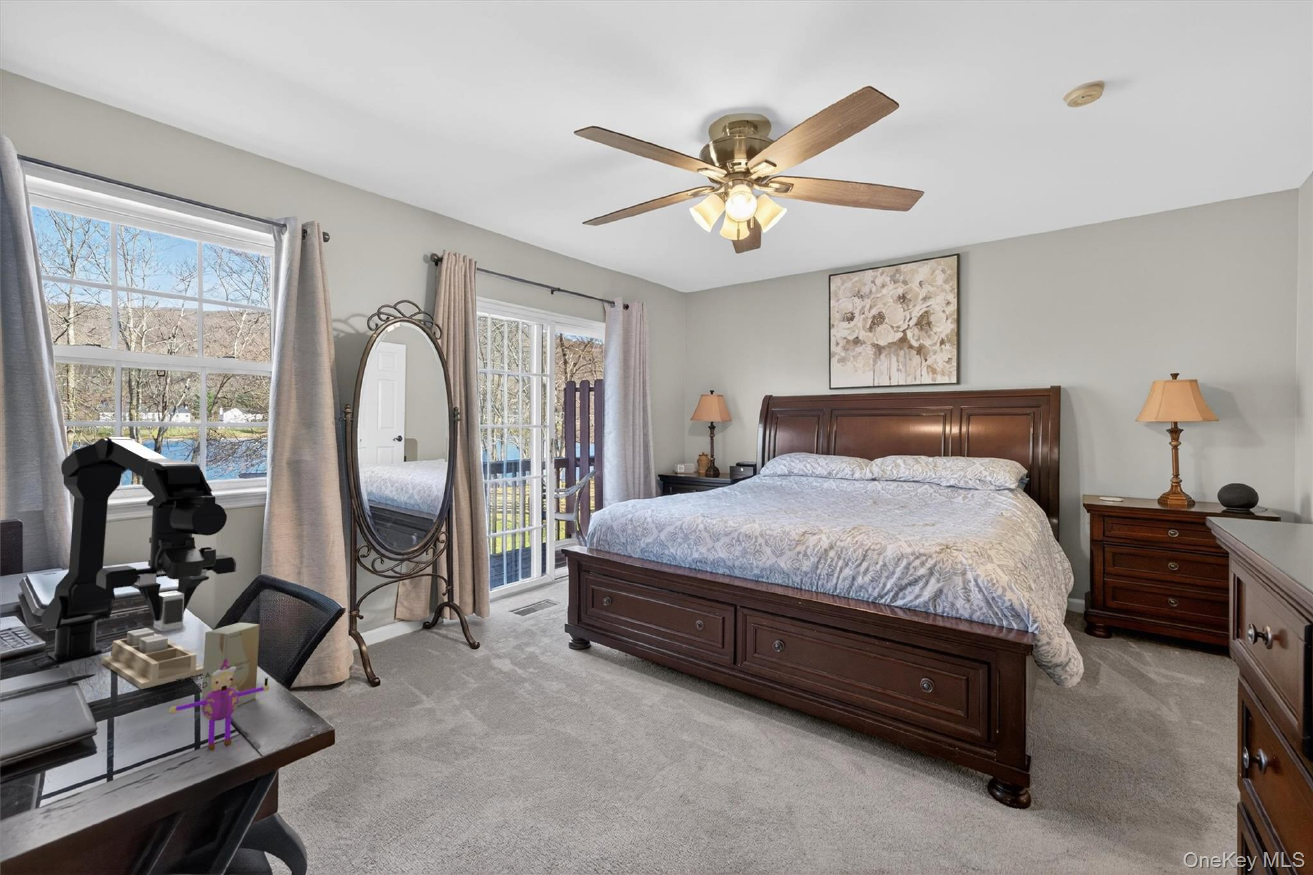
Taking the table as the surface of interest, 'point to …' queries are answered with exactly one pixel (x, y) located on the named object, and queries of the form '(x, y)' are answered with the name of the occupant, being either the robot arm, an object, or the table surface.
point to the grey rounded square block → (170, 611)
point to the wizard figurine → (219, 700)
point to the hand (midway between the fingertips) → (168, 618)
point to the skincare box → (232, 657)
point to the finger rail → (151, 659)
